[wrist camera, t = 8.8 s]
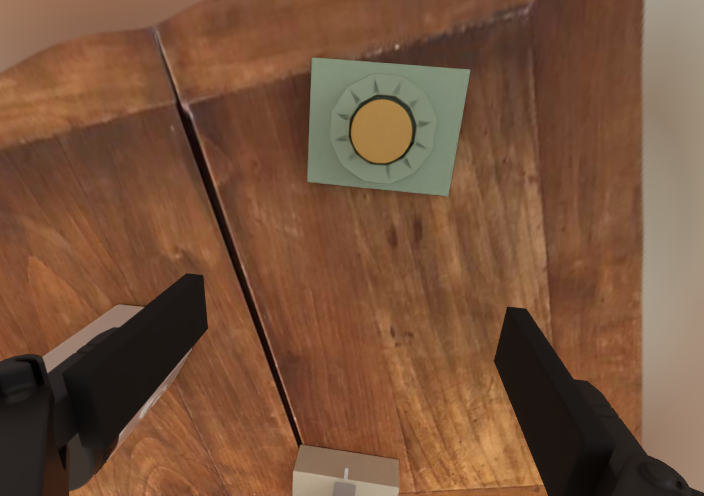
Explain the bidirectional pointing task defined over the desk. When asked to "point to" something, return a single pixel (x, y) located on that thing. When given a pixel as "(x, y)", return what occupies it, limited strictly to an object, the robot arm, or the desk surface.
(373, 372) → the desk surface
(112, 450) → the jar
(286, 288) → the desk surface
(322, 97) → the button block
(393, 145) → the button
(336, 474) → the panel
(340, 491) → the tap handle
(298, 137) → the desk surface
